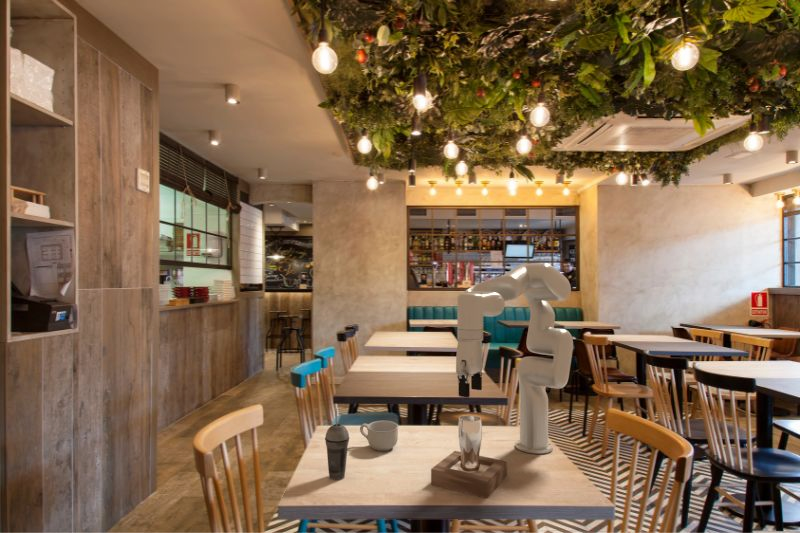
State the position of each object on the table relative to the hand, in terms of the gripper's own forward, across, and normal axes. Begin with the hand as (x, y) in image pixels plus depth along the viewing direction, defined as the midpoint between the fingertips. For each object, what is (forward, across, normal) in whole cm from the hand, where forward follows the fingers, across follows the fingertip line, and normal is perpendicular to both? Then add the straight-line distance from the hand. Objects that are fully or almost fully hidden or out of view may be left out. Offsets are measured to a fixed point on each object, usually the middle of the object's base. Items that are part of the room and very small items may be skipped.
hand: (470, 393), depth 147 cm
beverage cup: (+26, +18, -35) cm, 47 cm away
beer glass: (+22, 0, 0) cm, 23 cm away
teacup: (+26, -10, -38) cm, 47 cm away
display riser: (+26, 0, 0) cm, 26 cm away
